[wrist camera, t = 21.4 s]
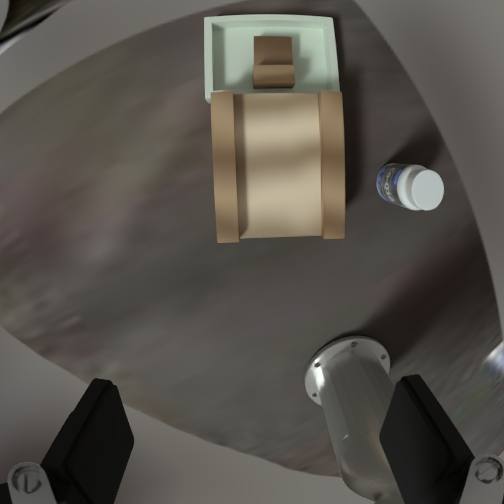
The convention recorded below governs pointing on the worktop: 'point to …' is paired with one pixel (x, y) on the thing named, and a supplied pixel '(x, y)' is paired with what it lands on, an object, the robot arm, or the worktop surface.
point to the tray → (242, 52)
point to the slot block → (278, 165)
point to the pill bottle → (410, 186)
